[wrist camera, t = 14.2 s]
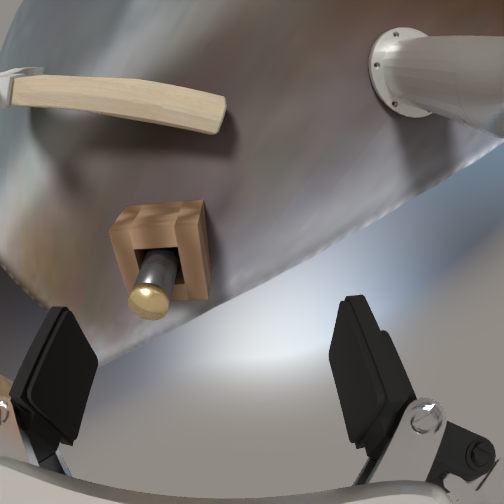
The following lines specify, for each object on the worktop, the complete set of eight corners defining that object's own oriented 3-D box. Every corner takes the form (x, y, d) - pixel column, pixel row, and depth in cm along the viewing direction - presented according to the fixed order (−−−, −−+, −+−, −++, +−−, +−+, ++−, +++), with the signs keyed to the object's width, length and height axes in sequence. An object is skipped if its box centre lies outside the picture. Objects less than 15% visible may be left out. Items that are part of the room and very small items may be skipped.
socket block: (203, 199, 39) (197, 224, 34) (211, 267, 46) (208, 299, 40) (125, 206, 39) (108, 231, 33) (142, 271, 45) (130, 301, 39)
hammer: (242, 107, 25) (-50, 80, 13) (226, 155, 27) (-54, 126, 15) (214, 89, 37) (13, 65, 25) (204, 121, 39) (8, 97, 27)
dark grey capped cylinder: (182, 223, 41) (163, 289, 30) (186, 250, 44) (171, 320, 32) (152, 225, 41) (123, 290, 29) (158, 252, 44) (134, 320, 32)
